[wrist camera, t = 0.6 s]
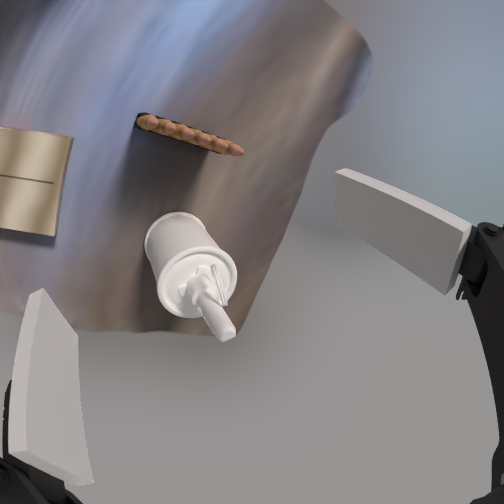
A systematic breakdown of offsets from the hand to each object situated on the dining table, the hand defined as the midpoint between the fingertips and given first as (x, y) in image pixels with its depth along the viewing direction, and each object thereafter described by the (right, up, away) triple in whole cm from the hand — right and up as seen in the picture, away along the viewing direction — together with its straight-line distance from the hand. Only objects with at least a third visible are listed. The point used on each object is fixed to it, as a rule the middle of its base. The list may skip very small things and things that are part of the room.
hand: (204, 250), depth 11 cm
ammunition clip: (-8, +15, +22) cm, 28 cm away
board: (-35, +10, +9) cm, 38 cm away
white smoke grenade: (-9, +1, +29) cm, 31 cm away
